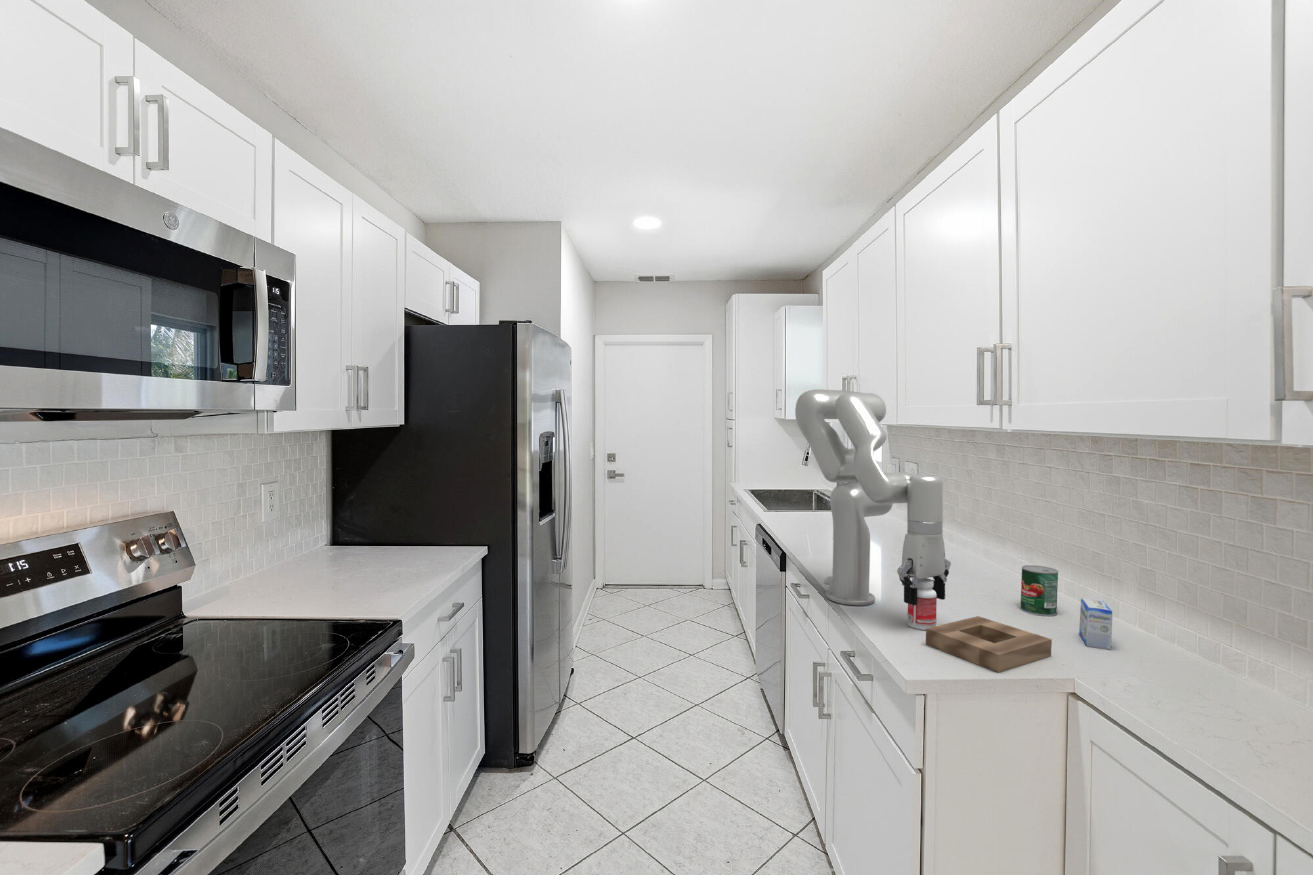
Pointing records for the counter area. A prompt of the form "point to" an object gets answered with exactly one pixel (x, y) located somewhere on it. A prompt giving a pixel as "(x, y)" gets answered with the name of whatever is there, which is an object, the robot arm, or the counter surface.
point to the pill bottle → (923, 606)
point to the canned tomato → (1039, 590)
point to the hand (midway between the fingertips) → (924, 600)
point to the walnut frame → (989, 643)
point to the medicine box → (1095, 623)
